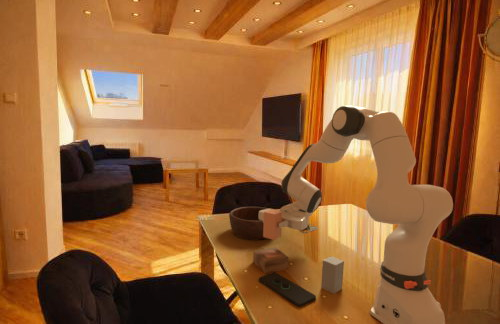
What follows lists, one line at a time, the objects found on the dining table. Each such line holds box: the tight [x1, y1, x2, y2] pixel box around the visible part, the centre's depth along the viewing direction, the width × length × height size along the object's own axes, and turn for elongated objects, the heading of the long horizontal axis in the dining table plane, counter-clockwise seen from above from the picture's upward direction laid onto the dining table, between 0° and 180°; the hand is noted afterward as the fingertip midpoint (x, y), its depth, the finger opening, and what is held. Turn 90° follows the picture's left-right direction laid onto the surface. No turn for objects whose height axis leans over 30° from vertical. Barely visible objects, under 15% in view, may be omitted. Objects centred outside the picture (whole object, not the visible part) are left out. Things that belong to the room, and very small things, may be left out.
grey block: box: [320, 256, 345, 294], centre depth 108 cm, size 5×5×10 cm
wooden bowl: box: [228, 206, 269, 241], centre depth 159 cm, size 25×25×10 cm
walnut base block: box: [252, 246, 289, 274], centre depth 125 cm, size 10×10×5 cm
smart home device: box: [258, 271, 317, 308], centre depth 107 cm, size 8×2×20 cm
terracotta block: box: [263, 208, 282, 241], centre depth 123 cm, size 5×5×10 cm
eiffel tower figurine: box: [301, 222, 319, 234], centre depth 169 cm, size 15×10×13 cm
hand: (271, 223), depth 122 cm, fingers closed on terracotta block, 5 cm apart
